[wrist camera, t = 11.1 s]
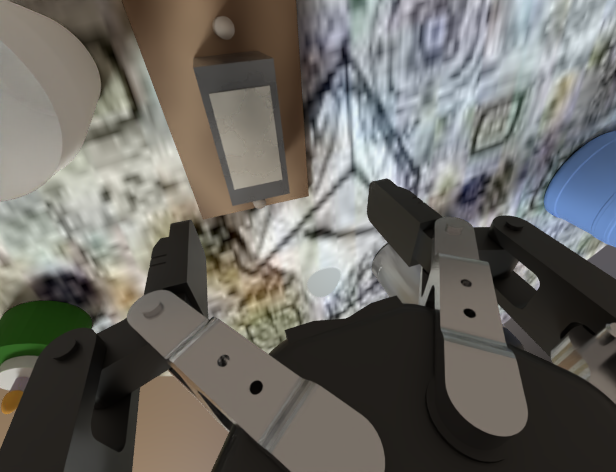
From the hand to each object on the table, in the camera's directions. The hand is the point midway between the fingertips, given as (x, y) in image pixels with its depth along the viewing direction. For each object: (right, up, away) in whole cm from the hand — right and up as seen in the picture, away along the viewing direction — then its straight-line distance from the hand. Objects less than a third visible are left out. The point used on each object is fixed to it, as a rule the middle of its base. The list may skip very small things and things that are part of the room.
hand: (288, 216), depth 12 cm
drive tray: (-6, +10, +13) cm, 18 cm away
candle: (-30, -11, +21) cm, 38 cm away
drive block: (-5, +10, +12) cm, 17 cm away
